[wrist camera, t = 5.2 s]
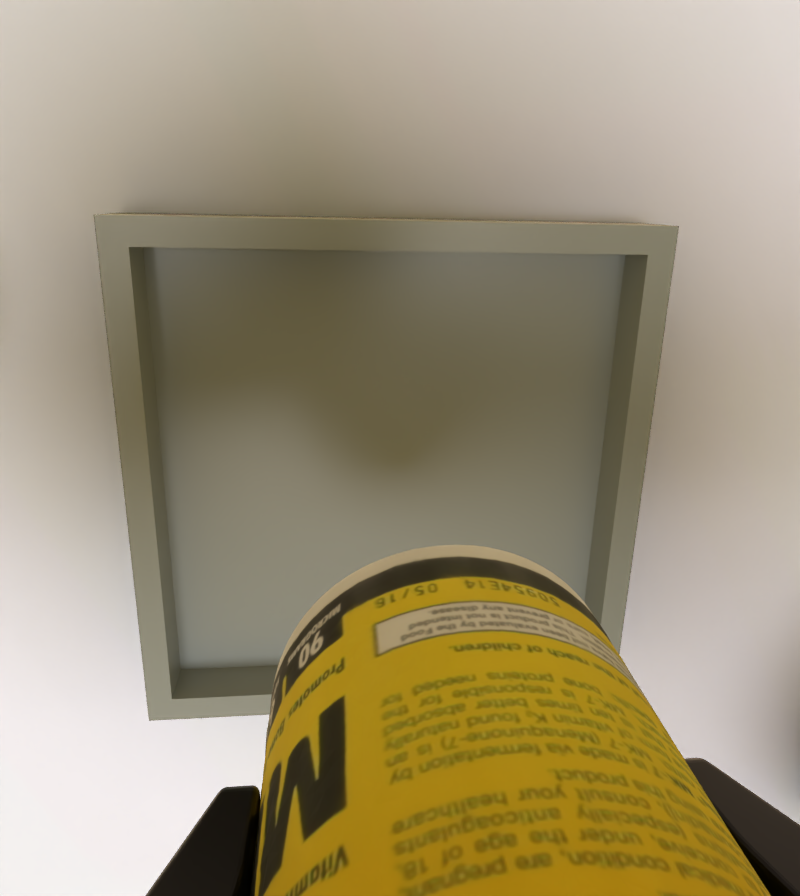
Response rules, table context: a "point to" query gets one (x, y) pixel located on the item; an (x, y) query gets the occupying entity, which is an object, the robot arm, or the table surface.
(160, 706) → the tray
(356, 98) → the table surface
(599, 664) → the supplement bottle
